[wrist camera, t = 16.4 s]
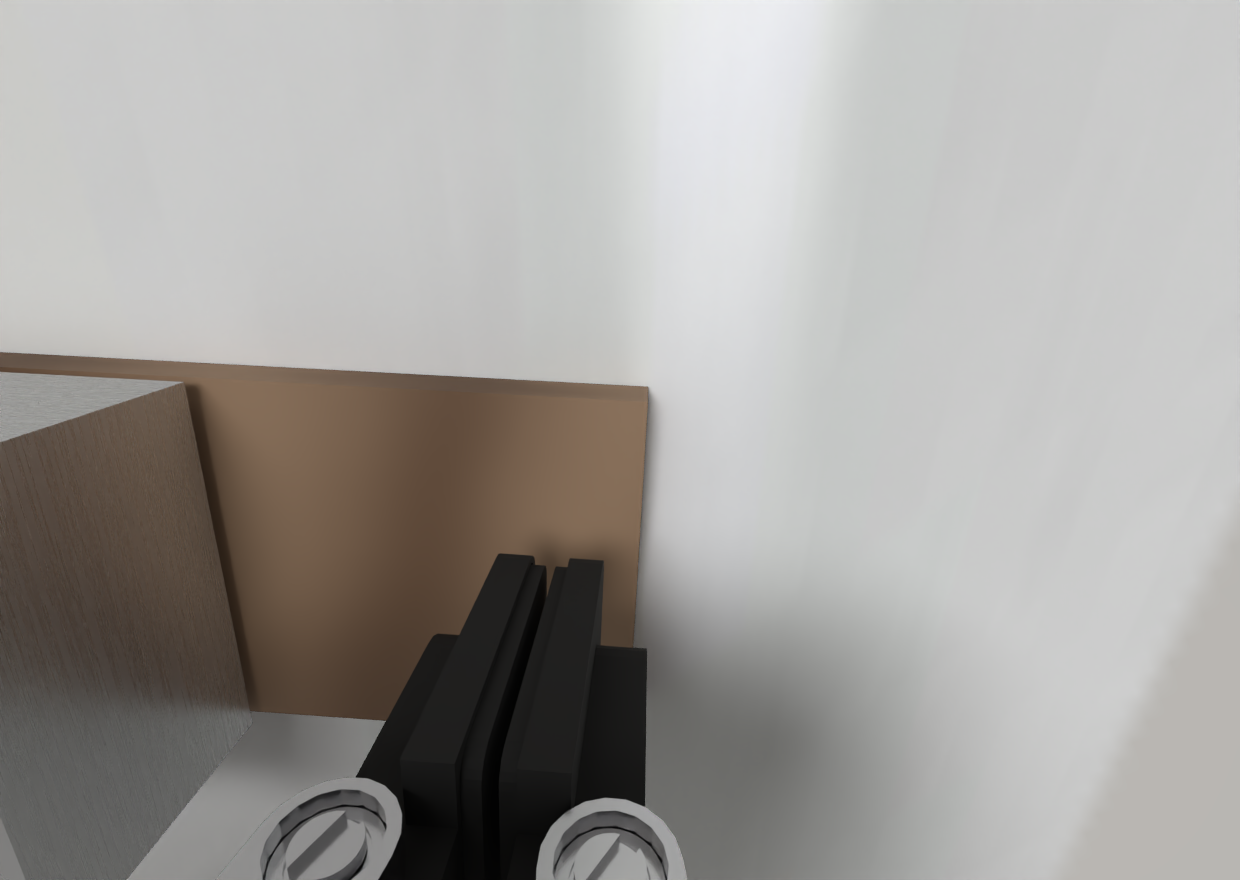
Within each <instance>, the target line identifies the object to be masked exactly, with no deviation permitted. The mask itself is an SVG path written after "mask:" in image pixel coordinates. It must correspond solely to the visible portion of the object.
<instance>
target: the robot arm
mask: <svg viewBox="0 0 1240 880" xmlns="http://www.w3.org/2000/svg"><path fill="white" fill-rule="evenodd" d="M603 580H604V560H590V559H576V558H570V559H569V563H568V567H559V566H556V567H555V570H554V573H553V577H552V580H551V584H550V587H549V591H548V594H547V569H546V566H544V565H535V558H534V556H532V555H517V554H503V553H500V554H498V555H497V557H496V559H495V561H494V563H493V565H492V567H491V569H490V571H489V574H488V576H487V578H486V580H485V582H484V584H483V586H482V588H481V590H480V592H479V595H478V597H477V599H476V601H475V603H474V605H473V607H472V609H471V611H470V613H469V616H468V618H467V620H466V622H465V624H464V626H463V628H462V630H461V632H460V634H459V635H453V634H439V633H438V634H436V635H434V636H433V637H432V639H431V640H430V641H429V643H428V645H427V647H426V648H425V650H424V652H423V654H422V656H421V658H420V659H419V661H418V663H417V665H416V667H415V669H414V671H413V672H412V674H411V676H410V678H409V680H408V682H407V683H406V685H405V687H404V689H403V691H402V693H401V695H400V696H399V698H398V700H397V702H396V704H395V706H394V707H393V709H392V711H391V713H390V715H389V717H388V719H387V720H386V722H385V724H384V726H383V728H382V730H381V731H380V733H379V735H378V737H377V739H376V741H375V743H374V744H373V746H372V748H371V750H370V752H369V754H368V755H367V757H366V759H365V761H364V763H363V765H362V767H361V768H360V770H359V772H358V774H357V776H356V778H354V777H345V778H340V779H334V780H329V781H325V782H322V783H320V784H317V785H315V786H312V787H310V788H307V789H305V790H303V791H301V792H300V793H298V794H296V795H295V796H293V797H292V798H290V799H289V800H287V801H286V802H284V803H283V804H281V805H280V806H279V807H278V808H277V809H276V810H275V811H274V812H273V813H272V814H271V815H270V816H269V817H268V818H267V819H266V820H265V821H264V822H263V823H262V824H261V825H260V826H259V827H258V829H257V830H256V831H255V832H254V833H253V835H252V836H251V837H250V838H249V840H248V841H247V842H246V843H245V844H244V846H243V847H242V848H241V849H240V850H239V852H238V853H237V854H236V855H235V856H234V858H233V859H232V860H231V861H230V862H229V864H228V865H227V866H226V867H225V869H224V870H223V871H222V872H221V873H220V875H219V876H218V877H217V878H216V879H215V880H687V875H686V870H685V865H684V860H683V857H682V854H681V851H680V848H679V846H678V843H677V840H676V837H675V836H674V835H673V833H672V832H671V831H670V829H669V828H668V827H667V825H666V824H665V823H664V821H663V820H662V819H661V818H659V817H658V816H657V815H655V814H654V813H653V812H651V811H650V810H649V809H647V808H646V807H645V755H646V679H647V649H644V648H631V647H617V646H603V645H601V625H602V603H603Z"/></svg>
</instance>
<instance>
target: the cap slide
mask: <svg viewBox="0 0 1240 880" xmlns="http://www.w3.org/2000/svg"><path fill="white" fill-rule="evenodd" d="M252 723H253V722H252V717H251V712H250V708H249V703H248V698H247V693H246V688H245V683H244V678H243V673H242V668H241V663H240V658H239V653H238V648H237V643H236V638H235V633H234V628H233V623H232V618H231V613H230V608H229V603H228V598H227V593H226V588H225V583H224V578H223V573H222V568H221V563H220V558H219V553H218V548H217V543H216V538H215V533H214V528H213V523H212V518H211V513H210V508H209V503H208V498H207V493H206V488H205V483H204V478H203V473H202V468H201V463H200V458H199V453H198V448H197V443H196V438H195V433H194V428H193V423H192V418H191V413H190V408H189V403H188V398H187V393H186V388H185V383H184V382H176V381H158V380H139V379H121V378H102V377H84V376H65V375H47V374H29V373H10V372H0V880H127V879H128V877H129V876H130V875H131V874H132V872H133V871H134V870H135V869H136V867H137V866H138V865H139V864H140V862H141V861H142V860H143V859H144V857H145V856H146V855H147V854H148V853H149V851H150V850H151V849H152V848H153V846H154V845H155V844H156V843H157V841H158V840H159V839H160V838H161V836H162V835H163V834H164V833H165V831H166V830H167V829H168V828H169V826H170V825H171V824H172V823H173V821H174V820H175V819H176V818H177V816H178V815H179V814H180V813H181V811H182V810H183V809H184V808H185V807H186V805H187V804H188V803H189V802H190V800H191V799H192V798H193V797H194V795H195V794H196V793H197V792H198V790H199V789H200V788H201V787H202V785H203V784H204V783H205V782H206V780H207V779H208V778H209V777H210V775H211V774H212V773H213V772H214V770H215V769H216V768H217V767H218V766H219V764H220V763H221V762H222V761H223V759H224V758H225V757H226V756H227V754H228V753H229V752H230V751H231V749H232V748H233V747H234V746H235V744H236V743H237V742H238V741H239V739H240V738H241V737H242V736H243V734H244V733H245V732H246V731H247V729H248V728H249V727H250V726H251V724H252Z"/></svg>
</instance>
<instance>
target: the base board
mask: <svg viewBox="0 0 1240 880" xmlns="http://www.w3.org/2000/svg"><path fill="white" fill-rule="evenodd" d="M0 372H10V373H29V374H47V375H65V376H84V377H102V378H121V379H139V380H158V381H176V382H184V383H185V388H186V393H187V398H188V403H189V408H190V413H191V418H192V423H193V428H194V433H195V438H196V443H197V448H198V453H199V458H200V463H201V468H202V473H203V478H204V483H205V488H206V493H207V498H208V503H209V508H210V513H211V518H212V523H213V528H214V533H215V538H216V543H217V548H218V553H219V558H220V563H221V568H222V573H223V578H224V583H225V588H226V593H227V598H228V603H229V608H230V613H231V618H232V623H233V628H234V633H235V638H236V643H237V648H238V653H239V658H240V663H241V668H242V673H243V678H244V683H245V688H246V693H247V698H248V703H249V708H250V711H257V712H271V713H286V714H300V715H314V716H328V717H342V718H356V719H370V720H384V721H386V720H387V719H388V717H389V715H390V713H391V711H392V709H393V707H394V706H395V704H396V702H397V700H398V698H399V696H400V695H401V693H402V691H403V689H404V687H405V685H406V683H407V682H408V680H409V678H410V676H411V674H412V672H413V671H414V669H415V667H416V665H417V663H418V661H419V659H420V658H421V656H422V654H423V652H424V650H425V648H426V647H427V645H428V643H429V641H430V640H431V639H432V637H433V636H434V635H436V634H438V633H439V634H453V635H459V634H460V632H461V630H462V628H463V626H464V624H465V622H466V620H467V618H468V616H469V613H470V611H471V609H472V607H473V605H474V603H475V601H476V599H477V597H478V595H479V592H480V590H481V588H482V586H483V584H484V582H485V580H486V578H487V576H488V574H489V571H490V569H491V567H492V565H493V563H494V561H495V559H496V557H497V555H498V554H500V553H503V554H517V555H532V556H534V558H535V565H544V566H546V569H547V594H548V591H549V587H550V584H551V580H552V577H553V573H554V570H555V567H556V566H559V567H568V563H569V559H570V558H576V559H590V560H604V580H603V603H602V625H601V645H603V646H617V647H631V648H633V641H634V624H635V608H636V591H637V574H638V558H639V541H640V524H641V508H642V491H643V475H644V458H645V441H646V425H647V408H648V387H642V386H623V385H604V384H585V383H566V382H548V381H529V380H510V379H491V378H472V377H454V376H435V375H416V374H397V373H379V372H360V371H341V370H322V369H303V368H285V367H266V366H247V365H228V364H210V363H191V362H172V361H153V360H134V359H116V358H97V357H78V356H59V355H40V354H22V353H3V352H0Z"/></svg>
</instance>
